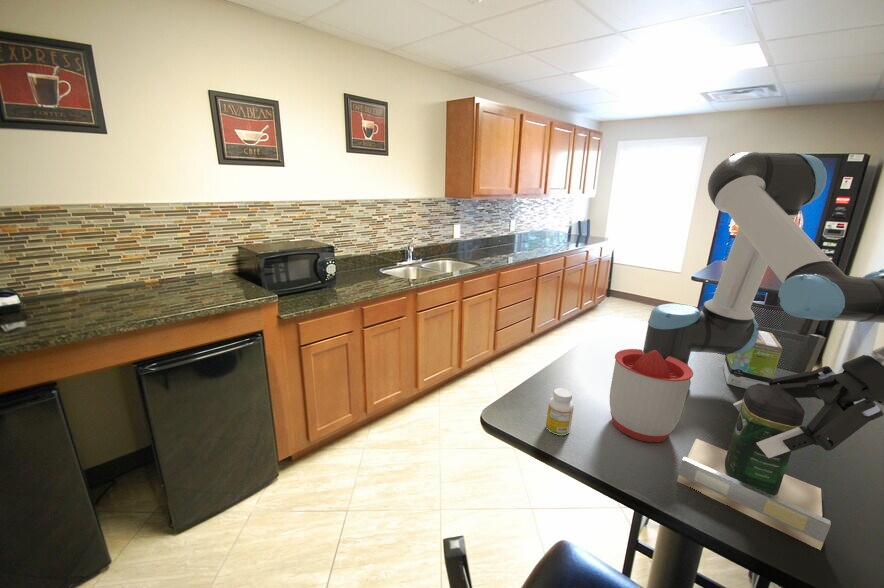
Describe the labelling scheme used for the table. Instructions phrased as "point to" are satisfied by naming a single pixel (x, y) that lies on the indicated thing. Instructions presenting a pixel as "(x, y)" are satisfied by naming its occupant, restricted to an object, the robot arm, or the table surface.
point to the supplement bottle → (560, 412)
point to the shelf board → (788, 491)
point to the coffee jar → (762, 436)
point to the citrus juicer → (648, 394)
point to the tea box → (753, 362)
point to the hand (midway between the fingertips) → (748, 428)
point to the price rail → (756, 499)
